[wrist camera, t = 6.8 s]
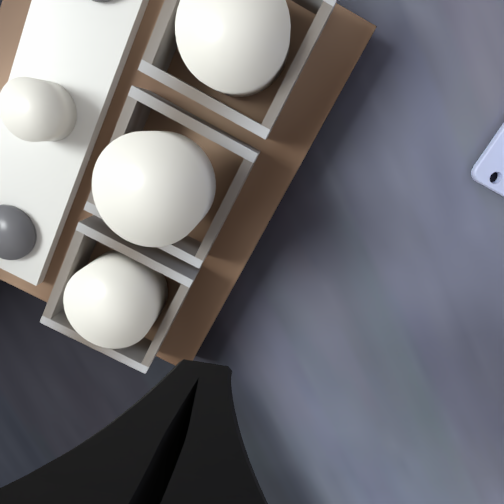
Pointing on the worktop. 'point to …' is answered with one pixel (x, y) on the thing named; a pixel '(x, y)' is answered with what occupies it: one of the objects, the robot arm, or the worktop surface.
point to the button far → (114, 300)
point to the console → (219, 153)
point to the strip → (92, 83)
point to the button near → (234, 42)
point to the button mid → (153, 187)
